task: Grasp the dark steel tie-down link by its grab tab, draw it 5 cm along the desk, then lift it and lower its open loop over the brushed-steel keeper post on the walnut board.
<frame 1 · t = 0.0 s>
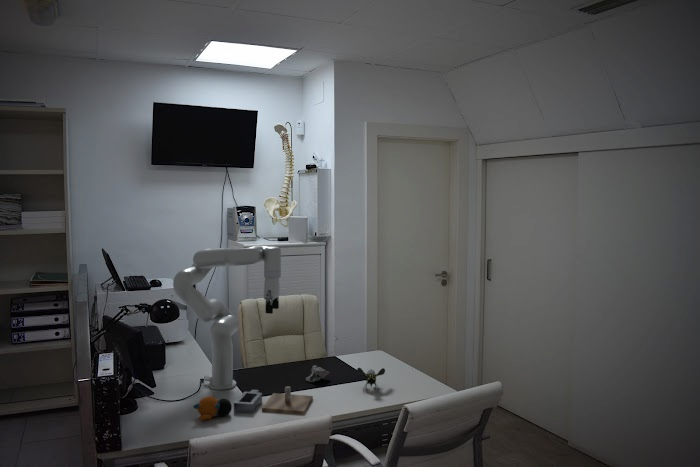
hand: (272, 310, 259), 37 cm above the table, fingers open, 9 cm apart
toy: (211, 418, 230), on the table
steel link: (248, 406, 241), on the table
mineral specimen: (317, 380, 276), on the table
keeper board: (287, 405, 244), on the table
insect: (370, 390, 264), on the table
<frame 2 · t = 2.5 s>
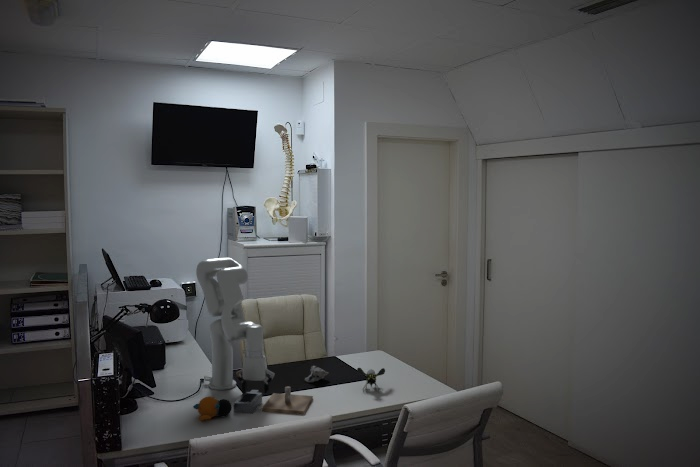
hand: (255, 391, 248), 4 cm above the table, fingers open, 9 cm apart
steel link: (248, 406, 241), on the table, touching gripper
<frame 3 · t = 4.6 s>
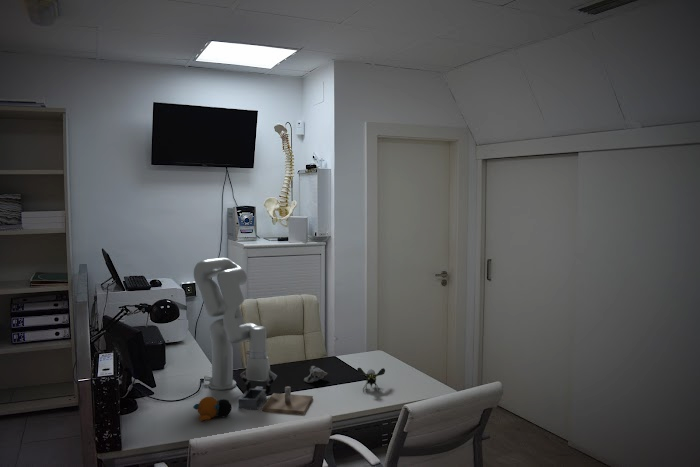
hand: (258, 392, 253), 2 cm above the table, fingers closed on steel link, 8 cm apart
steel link: (252, 403, 246), on the table, touching gripper
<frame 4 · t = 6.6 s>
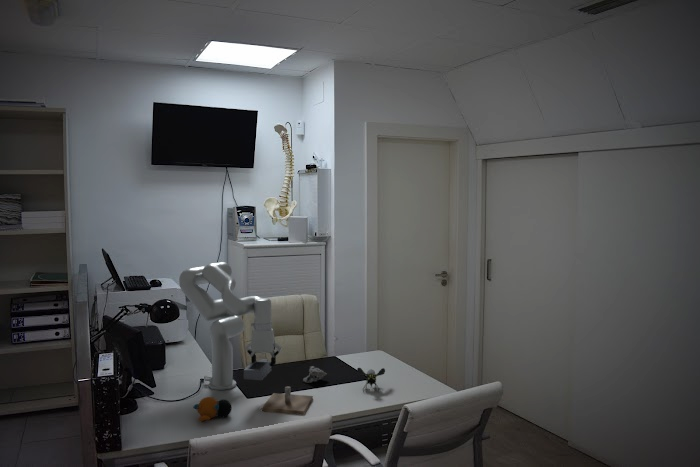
hand: (263, 364, 252), 14 cm above the table, fingers closed on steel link, 8 cm apart
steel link: (257, 374, 245), point 13 cm above the table, touching gripper
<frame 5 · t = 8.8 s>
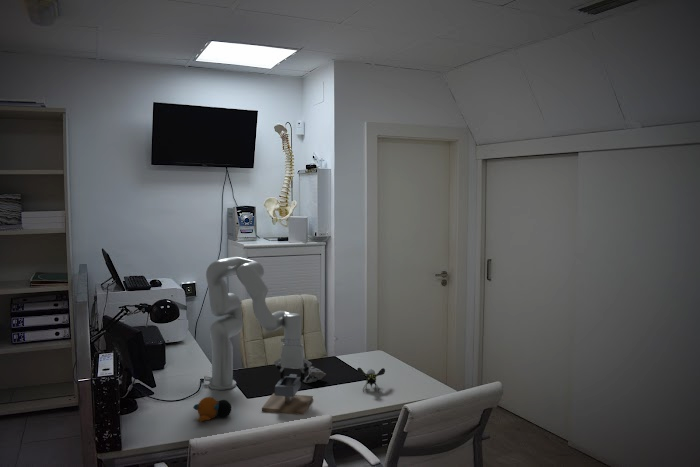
hand: (292, 380, 251), 8 cm above the table, fingers closed on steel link, 8 cm apart
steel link: (288, 390, 243), point 7 cm above the table, touching gripper
when the fingers open (4 cm above the table, at t = 10.3 s): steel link stays where it is, resting on keeper board.
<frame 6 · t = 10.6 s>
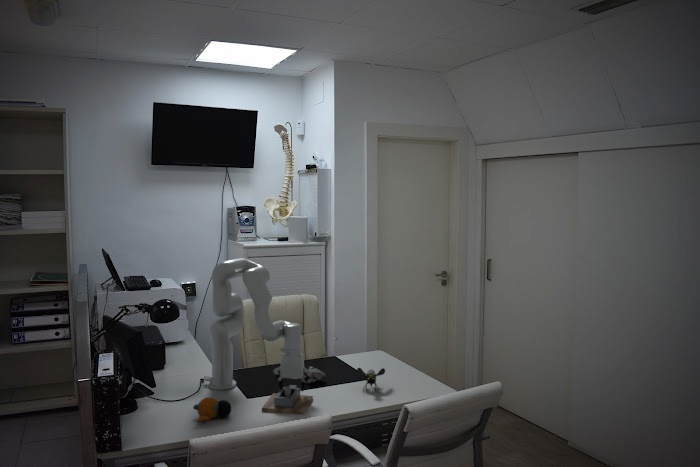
hand: (292, 389, 251), 4 cm above the table, fingers open, 9 cm apart
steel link: (287, 401, 244), point 1 cm above the table, touching keeper board
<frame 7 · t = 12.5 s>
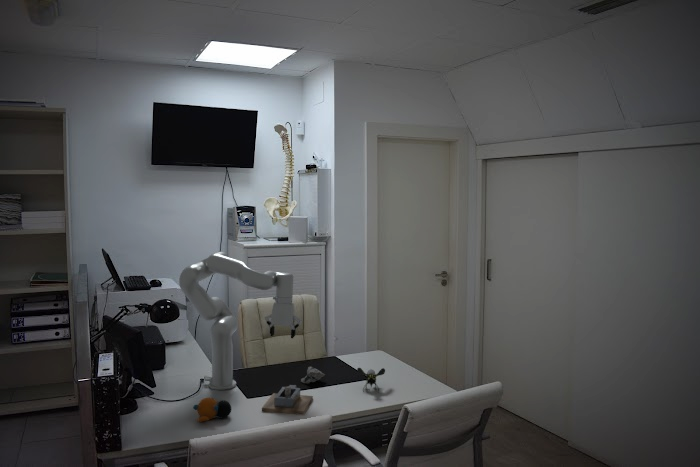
hand: (282, 336, 261), 25 cm above the table, fingers open, 9 cm apart
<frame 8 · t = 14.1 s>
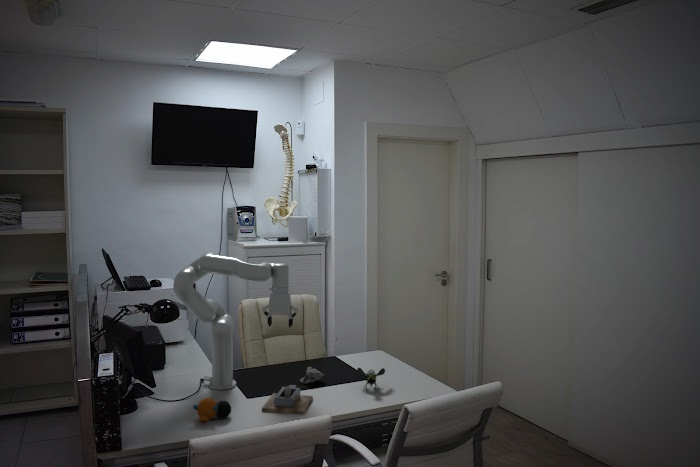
hand: (280, 326, 266), 28 cm above the table, fingers open, 9 cm apart
at the end: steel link 0.4 cm off-centre on the keeper board, point 1.5 cm above the keeper board's base; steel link tilted 0°; the gripper is holding nothing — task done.
